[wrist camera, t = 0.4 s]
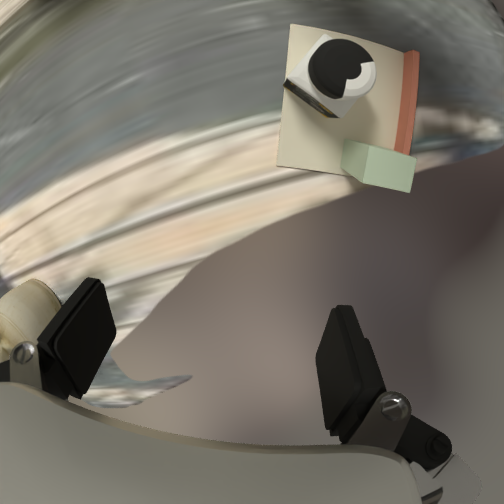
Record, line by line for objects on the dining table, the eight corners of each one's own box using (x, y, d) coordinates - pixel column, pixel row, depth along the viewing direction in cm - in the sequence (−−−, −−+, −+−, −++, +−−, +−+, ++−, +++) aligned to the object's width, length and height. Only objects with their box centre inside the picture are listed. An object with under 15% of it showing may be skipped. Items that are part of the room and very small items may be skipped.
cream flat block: (290, 24, 25) (292, 16, 22) (410, 56, 25) (421, 53, 22) (276, 165, 34) (277, 169, 32) (394, 184, 34) (403, 190, 32)
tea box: (344, 138, 32) (369, 145, 24) (385, 147, 32) (418, 158, 24) (340, 167, 34) (362, 183, 26) (380, 175, 34) (410, 193, 26)
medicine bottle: (281, 85, 29) (290, 69, 19) (313, 47, 26) (336, 17, 16) (327, 119, 31) (357, 120, 20) (357, 81, 28) (398, 68, 17)
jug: (14, 269, 45) (-48, 335, 23) (54, 275, 45) (-17, 357, 23) (36, 320, 52) (-12, 387, 30) (77, 330, 52) (28, 412, 30)
